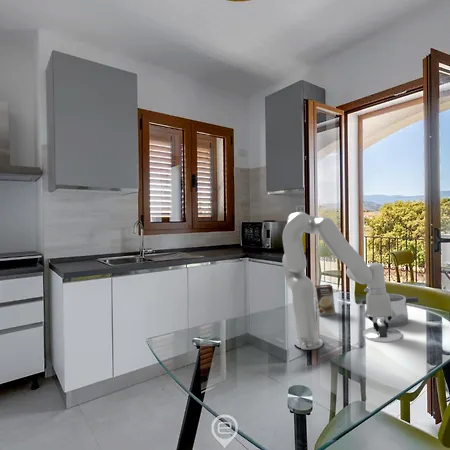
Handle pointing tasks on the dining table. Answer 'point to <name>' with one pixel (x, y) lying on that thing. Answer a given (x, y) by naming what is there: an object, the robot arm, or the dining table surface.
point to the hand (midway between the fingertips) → (381, 330)
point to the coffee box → (324, 300)
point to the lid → (382, 333)
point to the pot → (398, 309)
